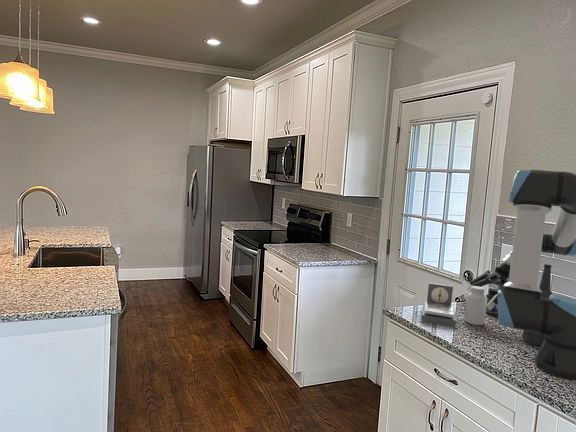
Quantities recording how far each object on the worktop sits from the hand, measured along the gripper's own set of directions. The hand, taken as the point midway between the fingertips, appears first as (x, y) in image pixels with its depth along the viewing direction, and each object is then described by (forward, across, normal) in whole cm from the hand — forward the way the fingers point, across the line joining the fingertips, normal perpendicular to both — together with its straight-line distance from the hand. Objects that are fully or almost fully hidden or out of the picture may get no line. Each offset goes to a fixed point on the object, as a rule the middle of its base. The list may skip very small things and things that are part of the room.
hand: (475, 303), depth 184 cm
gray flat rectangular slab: (+13, +5, +7) cm, 16 cm away
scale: (+15, +6, +4) cm, 17 cm away
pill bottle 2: (-7, +9, -19) cm, 22 cm away
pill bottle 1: (+6, 0, -6) cm, 8 cm away
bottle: (0, -24, -12) cm, 27 cm away
